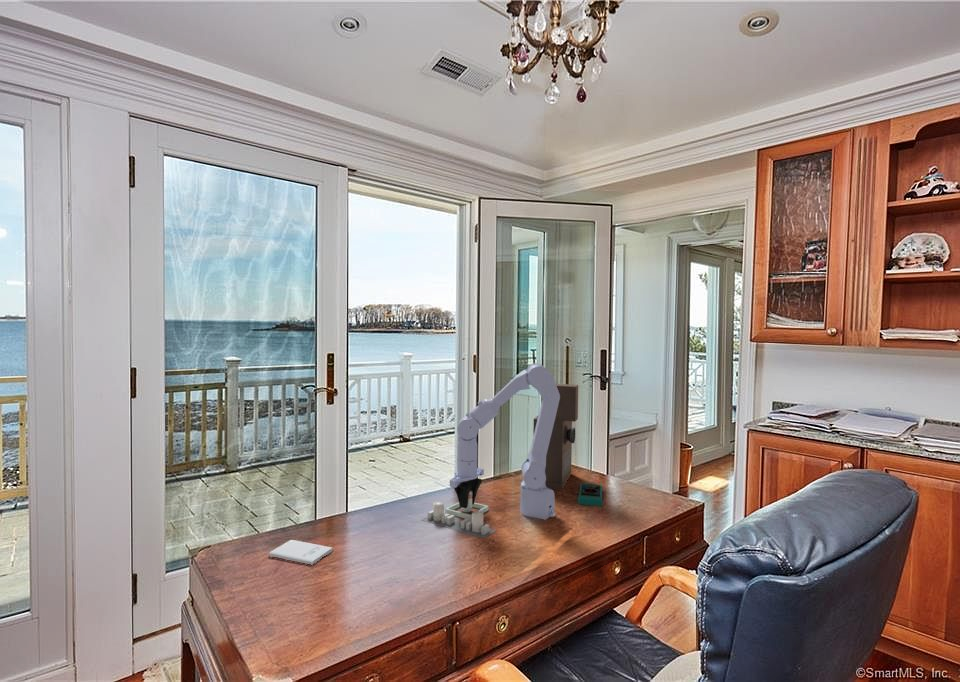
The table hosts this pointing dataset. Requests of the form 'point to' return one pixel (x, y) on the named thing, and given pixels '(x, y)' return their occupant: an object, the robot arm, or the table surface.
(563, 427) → the tall box with knob
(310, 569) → the table surface
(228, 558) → the table surface
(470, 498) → the cylinder
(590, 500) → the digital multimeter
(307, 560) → the external hard drive
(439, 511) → the white glossy rounded part
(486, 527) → the fuse board
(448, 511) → the tray
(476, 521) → the cylinder
